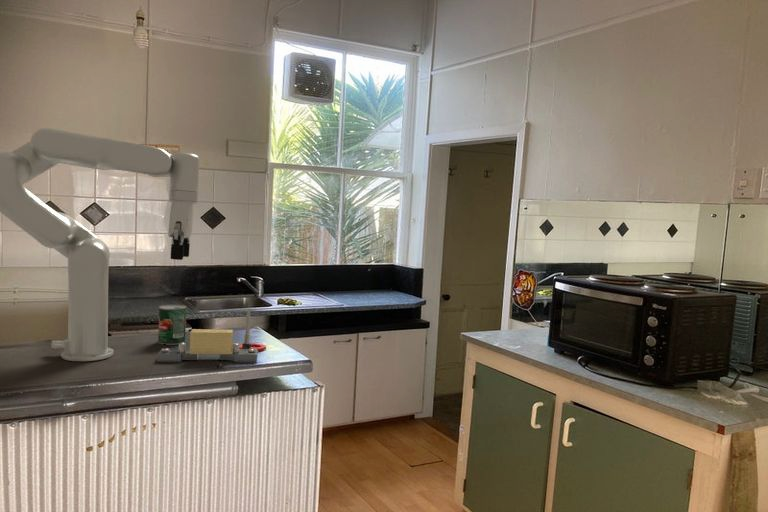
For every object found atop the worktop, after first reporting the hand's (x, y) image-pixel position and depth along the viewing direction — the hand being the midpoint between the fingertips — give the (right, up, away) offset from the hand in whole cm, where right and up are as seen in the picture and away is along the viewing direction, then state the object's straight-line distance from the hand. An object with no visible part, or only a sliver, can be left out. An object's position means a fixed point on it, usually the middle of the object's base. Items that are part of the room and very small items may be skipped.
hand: (179, 257), depth 165 cm
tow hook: (+18, -28, +10) cm, 35 cm away
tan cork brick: (+10, -26, -4) cm, 28 cm away
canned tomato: (-7, -26, +13) cm, 30 cm away
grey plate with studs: (+9, -28, -4) cm, 30 cm away
